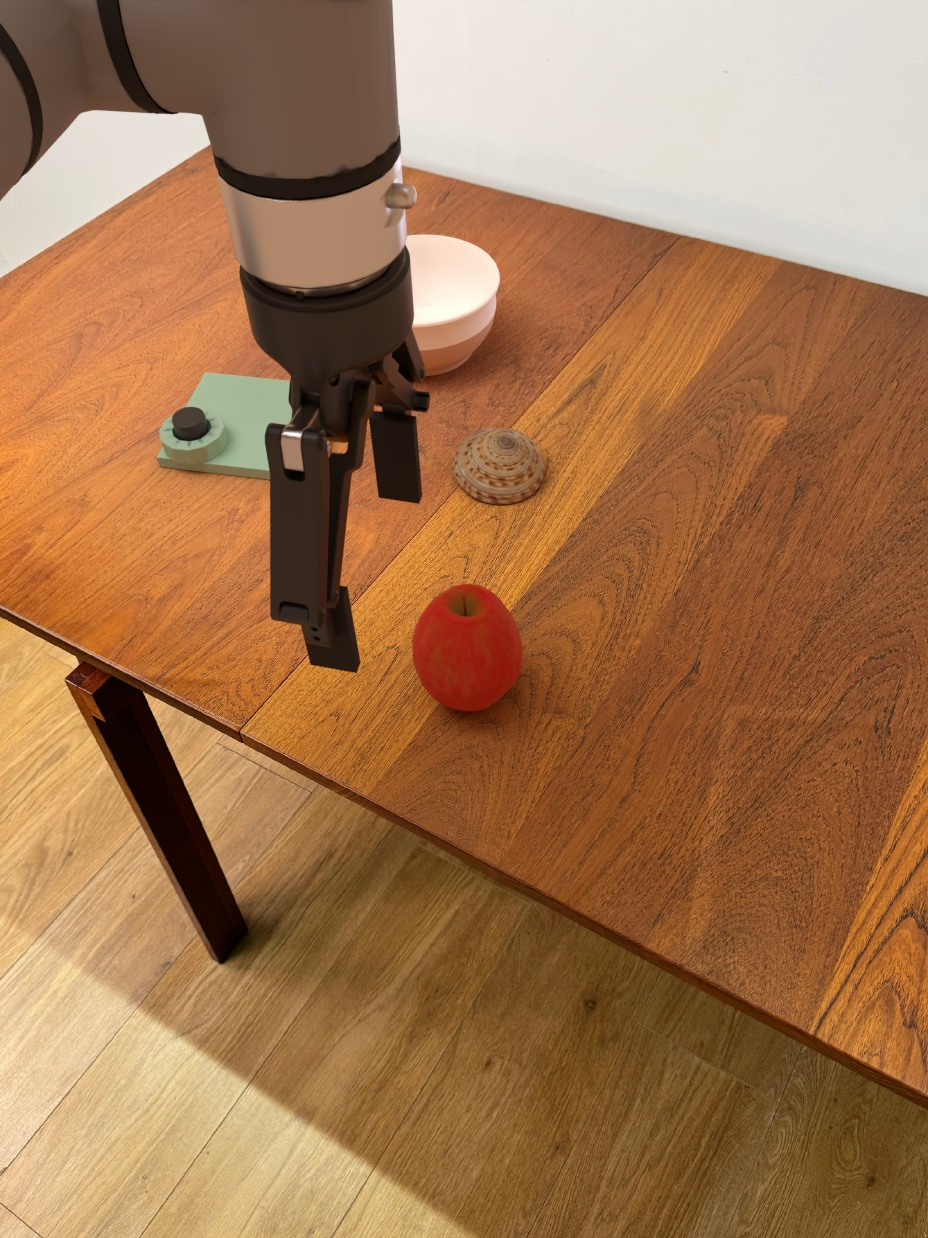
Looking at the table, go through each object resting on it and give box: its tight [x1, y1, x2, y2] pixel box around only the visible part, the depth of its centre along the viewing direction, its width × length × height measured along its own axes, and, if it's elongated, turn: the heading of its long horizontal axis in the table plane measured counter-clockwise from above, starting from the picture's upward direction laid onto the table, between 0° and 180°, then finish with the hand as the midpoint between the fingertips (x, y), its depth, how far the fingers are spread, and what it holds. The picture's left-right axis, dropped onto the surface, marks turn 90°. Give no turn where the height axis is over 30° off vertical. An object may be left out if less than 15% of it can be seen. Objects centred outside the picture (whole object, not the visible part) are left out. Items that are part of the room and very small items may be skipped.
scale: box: [156, 371, 331, 481], centre depth 95 cm, size 15×13×3 cm
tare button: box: [171, 406, 208, 442], centre depth 92 cm, size 3×3×2 cm
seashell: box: [452, 427, 545, 505], centre depth 91 cm, size 8×6×8 cm
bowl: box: [405, 234, 501, 377], centre depth 102 cm, size 16×16×8 cm
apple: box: [411, 582, 524, 712], centre depth 73 cm, size 8×8×11 cm
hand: (370, 575), depth 60 cm, fingers open, 13 cm apart
